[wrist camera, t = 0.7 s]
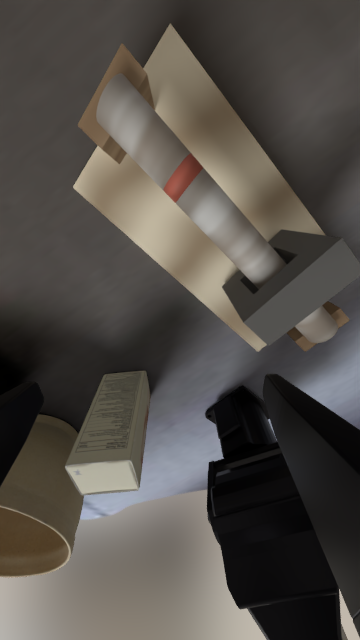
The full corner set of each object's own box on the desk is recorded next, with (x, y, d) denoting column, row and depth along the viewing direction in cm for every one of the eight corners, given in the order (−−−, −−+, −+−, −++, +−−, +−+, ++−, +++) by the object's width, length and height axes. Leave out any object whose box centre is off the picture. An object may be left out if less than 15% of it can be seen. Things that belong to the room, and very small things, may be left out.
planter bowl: (92, 390, 26) (40, 498, 16) (114, 469, 33) (87, 576, 23) (-40, 393, 26) (-173, 502, 16) (10, 471, 33) (-61, 579, 23)
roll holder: (350, 274, 20) (411, 295, 14) (256, 348, 23) (278, 386, 18) (170, 31, 13) (165, -90, 8) (76, 188, 16) (30, 176, 11)
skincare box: (111, 400, 26) (77, 496, 17) (103, 372, 24) (59, 465, 15) (153, 397, 26) (140, 493, 17) (148, 369, 24) (130, 461, 15)
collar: (299, 251, 18) (365, 271, 11) (240, 304, 20) (268, 346, 13) (281, 229, 17) (342, 237, 11) (221, 286, 19) (243, 322, 13)
